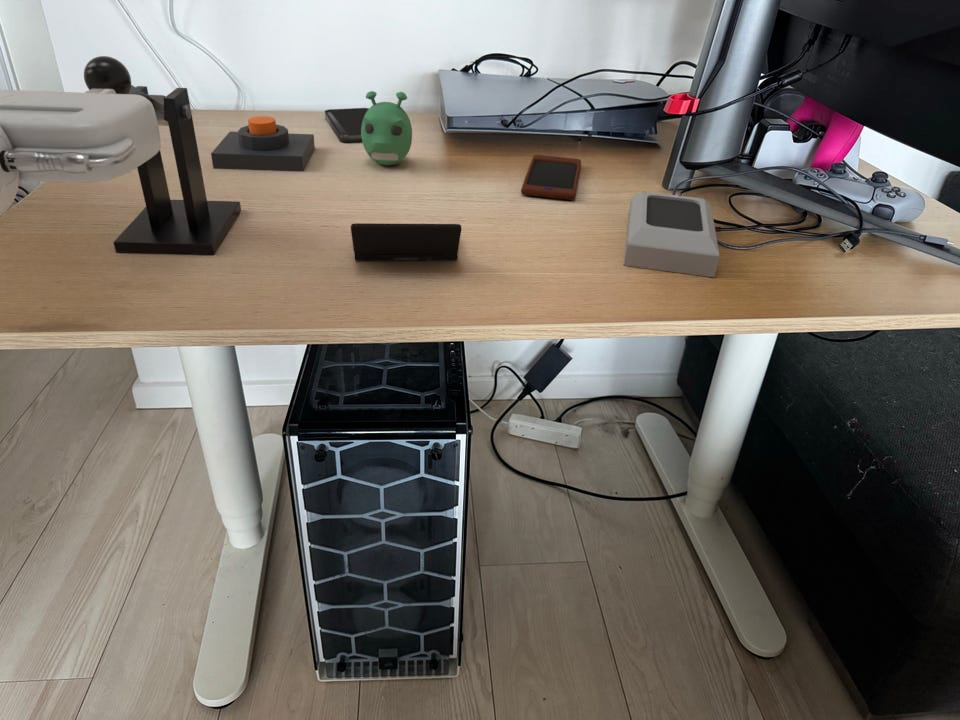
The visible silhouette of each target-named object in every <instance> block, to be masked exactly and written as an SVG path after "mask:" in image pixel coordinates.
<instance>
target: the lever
mask: <svg viewBox="0 0 960 720" xmlns="http://www.w3.org/2000/svg"><path fill="white" fill-rule="evenodd" d="M83 80H84V83H85V86H86V87H87V89H88V91H90V89H113V90H114V91H115V92H116V94H134V95H141V96H143V97H145V98H146V99H148V100H149V101H150V102H151V103H152V105H153V107H154V111H155V114H156V118H157V122H158V127H159V126H160V127H161V126H162V127H166V126H167V127H169V125H168V120H167V114H166V109H165V104H164V98H165V97H166V96H167V95H165V94H149V95H146V94H145V93H143V92H142V91H140V90H139V89H137V88H136V87H137V86H134V85H132V77H131V74H130V72H129V70H128V69H127V66H125V64H124V63H122V62H121V61H119V60H118V59H116V58H114V57H112V56H106V55H99V56H96V57H94V58H92V59H90V60H89V61H88V62H87V63H86V65H85V67H84V69H83Z"/></svg>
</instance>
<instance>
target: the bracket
mask: <svg viewBox="0 0 960 720" xmlns="http://www.w3.org/2000/svg"><path fill="white" fill-rule="evenodd" d="M135 87H136V88H137V89H139V90H140V91H142V92H143V93H145V94H146V95H150V94H149V90H148V86H146V85H137V86H135ZM165 96H166V97H165V98H164V104H165V109H166V114H167V120H168V125H169V126H168V130H169V134H170V139H171V145H172V149H173V154H174V159H175V160H174V161H175V163H176V170H177V176H178V180H179V186H180V190H181V191H180V192H181V195H182V199H171V197H170V191H169V187H168V182H167V176H166V172H165V167H164V163H163V158H162V153H161V149H160V150H159V152H158V153H157V154H156V155H155V156H153V157H152V158H151V159H149V160H148V161H146V162H145V163H143V164H142V165H140V166H138V167H137V168H136V169H137V173H138V177H139V182H140V185H141V191H142V194H143V200H144V204H145V207H144V208H143V209H142V210H141V211H140V213H138V215H137V216H135V218H134V219H133V220H132V221H131V222H130V224H129V225H127V227H125V229H124V230H123V231H122V232H121V234H120V233H119V235H118V237H116V238H115V240H114V241H113V246H114V251H115V252H116V253H124V254H125V253H131V254H165V255H166V254H168V255H170V254H171V255H205V256H206V255H210V256H213V255H215V254H216V252H217V250H218V249H219V247H220V246H221V244H222V243H223V241H224V239H225V237H226V236H227V234H228V232H230V230H231V228H232V227H233V225H234V223H235V221H236V220H237V218H238V217H239V215H240V213H241V212H242V206H241V201H236V200H235V201H233V200H231V201H230V200H208V198H207V193H206V188H205V187H206V186H205V182H204V176H203V171H202V164H201V159H200V153H199V148H198V142H197V136H196V132H195V126H194V120H193V114H192V109H191V104H190V97H189V92H188V87H176V88H175V89H174V90H173V91H171V92H170V93H169V94H167V95H165Z"/></svg>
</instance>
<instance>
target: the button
mask: <svg viewBox="0 0 960 720" xmlns="http://www.w3.org/2000/svg"><path fill="white" fill-rule="evenodd" d="M247 123H248V125H249V132H250V133H251V134H255V135H268V134H274V133H276V132H277V130H276V125H277V123H276V118H275V117H271V116H266V115H265V116H264V115H261V116H259V115H258V116H252V117H250V118H248V120H247ZM248 125H247V126H248Z"/></svg>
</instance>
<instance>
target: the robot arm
mask: <svg viewBox="0 0 960 720" xmlns="http://www.w3.org/2000/svg"><path fill="white" fill-rule="evenodd" d="M161 143H162V142H161V133H160V127H159V126H158V122H157V118H156V114H155V111H154V107H153V105H152V103H151V102H150V101H149V100H148V99H146V98H145V97H143V96H141V95H134V94H116V92H115V91H114V90H113V89H90V90H87V91H84V92H75V91H49V90H47V91H46V90H22V89H20V90H19V89H0V217H1V216H2V215H3V214H4V213H5V212H7V210H8V209H9V208H10V207H11V206H12V204H13V203H14V201H15V199H16V196H17V194H18V190H19V187H20V186H19V185H20V182H36V183H37V182H41V183H42V182H43V183H69V184H70V183H72V184H73V183H74V184H78V183H79V184H90V183H101V182H107V181H110V180H114V179H117V178H119V177H122V176H124V175H127V174H128V173H130V172H132V171H133V170H135V169H137V167H138V166H140V165H142V164H143V163H145V162H146V161H148V160H149V159H151V158H152V157H153V156H155V155H156V154H157V153H158V152H159V150H160V151H161V147H162V144H161Z"/></svg>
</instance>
